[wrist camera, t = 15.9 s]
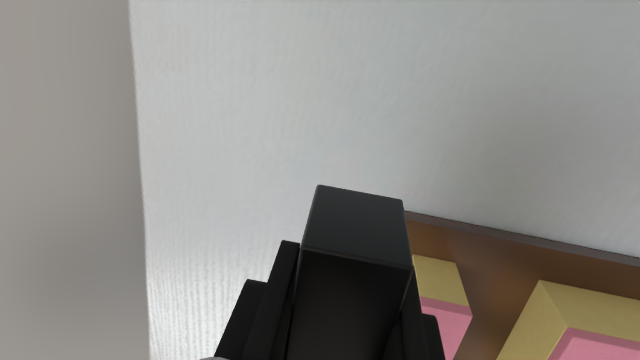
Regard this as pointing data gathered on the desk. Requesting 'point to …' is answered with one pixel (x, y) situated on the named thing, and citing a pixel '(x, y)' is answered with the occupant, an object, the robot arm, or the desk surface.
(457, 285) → the cake slice
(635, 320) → the cake
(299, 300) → the knife
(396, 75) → the desk surface
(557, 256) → the cake board
